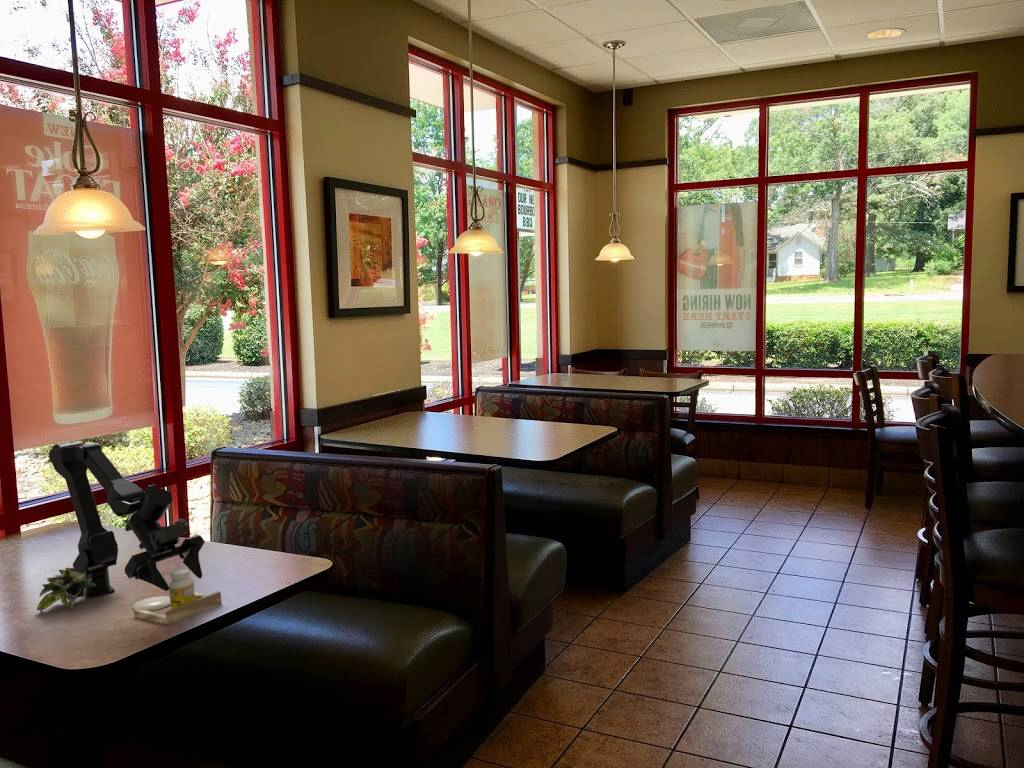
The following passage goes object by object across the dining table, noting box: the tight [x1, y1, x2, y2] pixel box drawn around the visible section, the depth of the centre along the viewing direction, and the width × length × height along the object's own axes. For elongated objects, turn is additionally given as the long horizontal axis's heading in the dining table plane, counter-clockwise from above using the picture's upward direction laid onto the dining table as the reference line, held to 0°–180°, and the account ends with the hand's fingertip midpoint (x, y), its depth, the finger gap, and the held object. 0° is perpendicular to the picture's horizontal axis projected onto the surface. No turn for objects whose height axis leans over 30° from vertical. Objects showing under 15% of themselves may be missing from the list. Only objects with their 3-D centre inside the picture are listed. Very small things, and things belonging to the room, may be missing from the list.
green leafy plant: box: [36, 567, 96, 613], centre depth 199 cm, size 11×11×12 cm
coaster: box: [132, 595, 171, 612], centre depth 198 cm, size 9×9×1 cm
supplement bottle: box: [168, 568, 195, 610], centre depth 192 cm, size 5×5×10 cm
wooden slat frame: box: [133, 590, 222, 626], centre depth 194 cm, size 12×14×3 cm
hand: (184, 583), depth 192 cm, fingers open, 9 cm apart
